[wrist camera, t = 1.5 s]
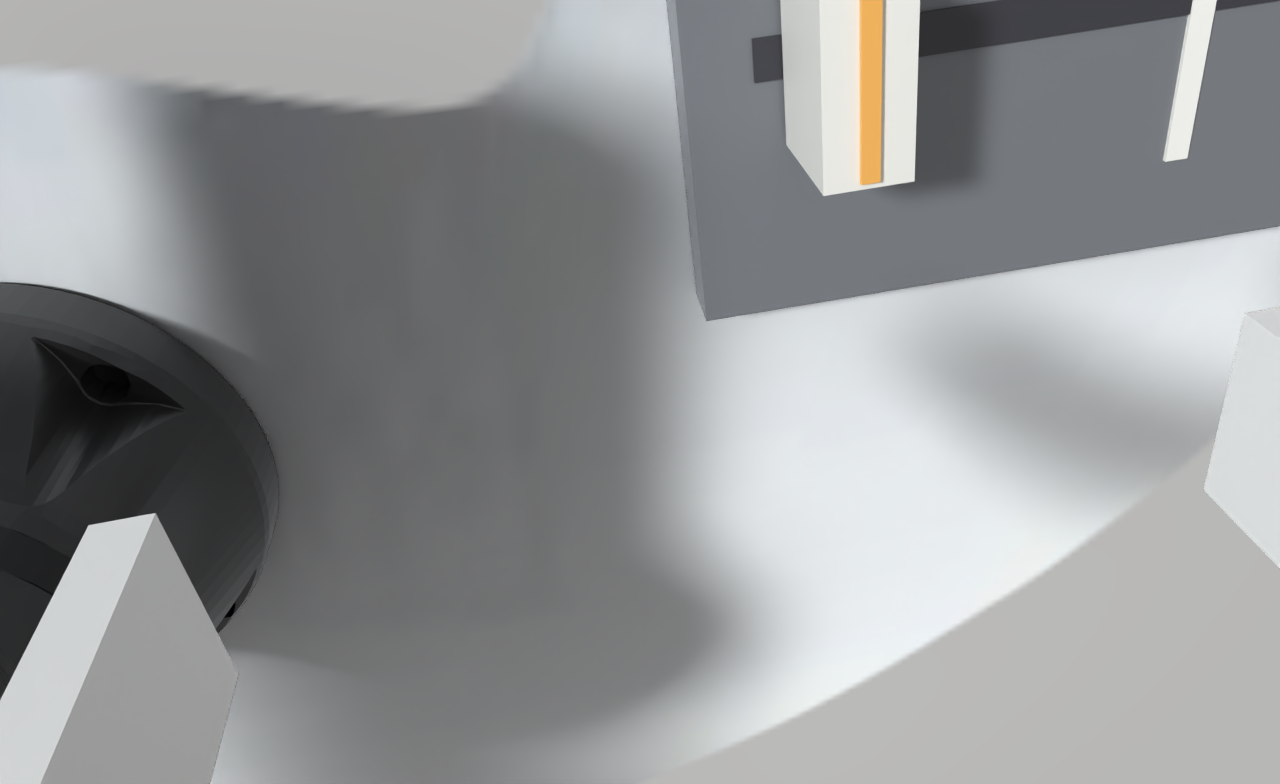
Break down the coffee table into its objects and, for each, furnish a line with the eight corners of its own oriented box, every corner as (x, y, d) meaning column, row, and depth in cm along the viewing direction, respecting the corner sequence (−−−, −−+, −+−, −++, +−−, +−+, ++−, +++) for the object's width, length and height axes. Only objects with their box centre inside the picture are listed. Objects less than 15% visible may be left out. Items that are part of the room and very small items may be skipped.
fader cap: (786, 144, 29) (825, 198, 26) (778, -38, 26) (821, -6, 23) (867, 131, 29) (916, 183, 26) (867, -52, 27) (923, -22, 23)
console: (696, 292, 34) (707, 323, 32) (639, -269, 25) (649, -271, 23) (1322, 189, 35) (1367, 213, 33) (1478, -392, 26) (1551, -402, 24)
